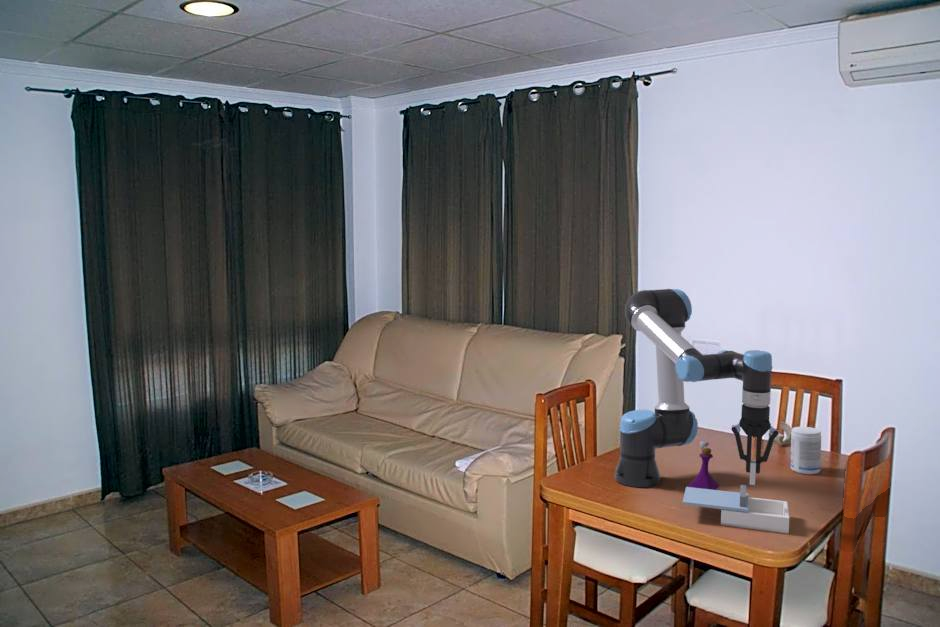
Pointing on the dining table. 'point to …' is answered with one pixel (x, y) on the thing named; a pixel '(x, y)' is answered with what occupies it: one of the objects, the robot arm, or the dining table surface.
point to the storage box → (759, 516)
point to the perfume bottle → (704, 471)
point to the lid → (717, 498)
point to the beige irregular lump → (780, 436)
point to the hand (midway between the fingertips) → (752, 483)
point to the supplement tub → (805, 450)
